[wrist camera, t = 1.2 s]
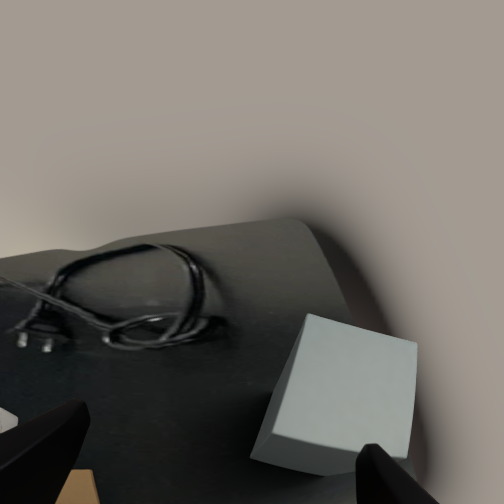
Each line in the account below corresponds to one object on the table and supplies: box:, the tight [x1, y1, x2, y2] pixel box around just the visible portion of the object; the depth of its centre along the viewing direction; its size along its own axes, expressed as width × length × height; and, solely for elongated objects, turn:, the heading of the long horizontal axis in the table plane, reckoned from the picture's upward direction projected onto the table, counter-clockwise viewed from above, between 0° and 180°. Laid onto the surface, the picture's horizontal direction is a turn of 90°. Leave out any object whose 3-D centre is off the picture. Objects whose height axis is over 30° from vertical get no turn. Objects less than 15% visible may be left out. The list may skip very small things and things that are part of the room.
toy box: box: [250, 314, 417, 476], centre depth 16 cm, size 6×6×12 cm
